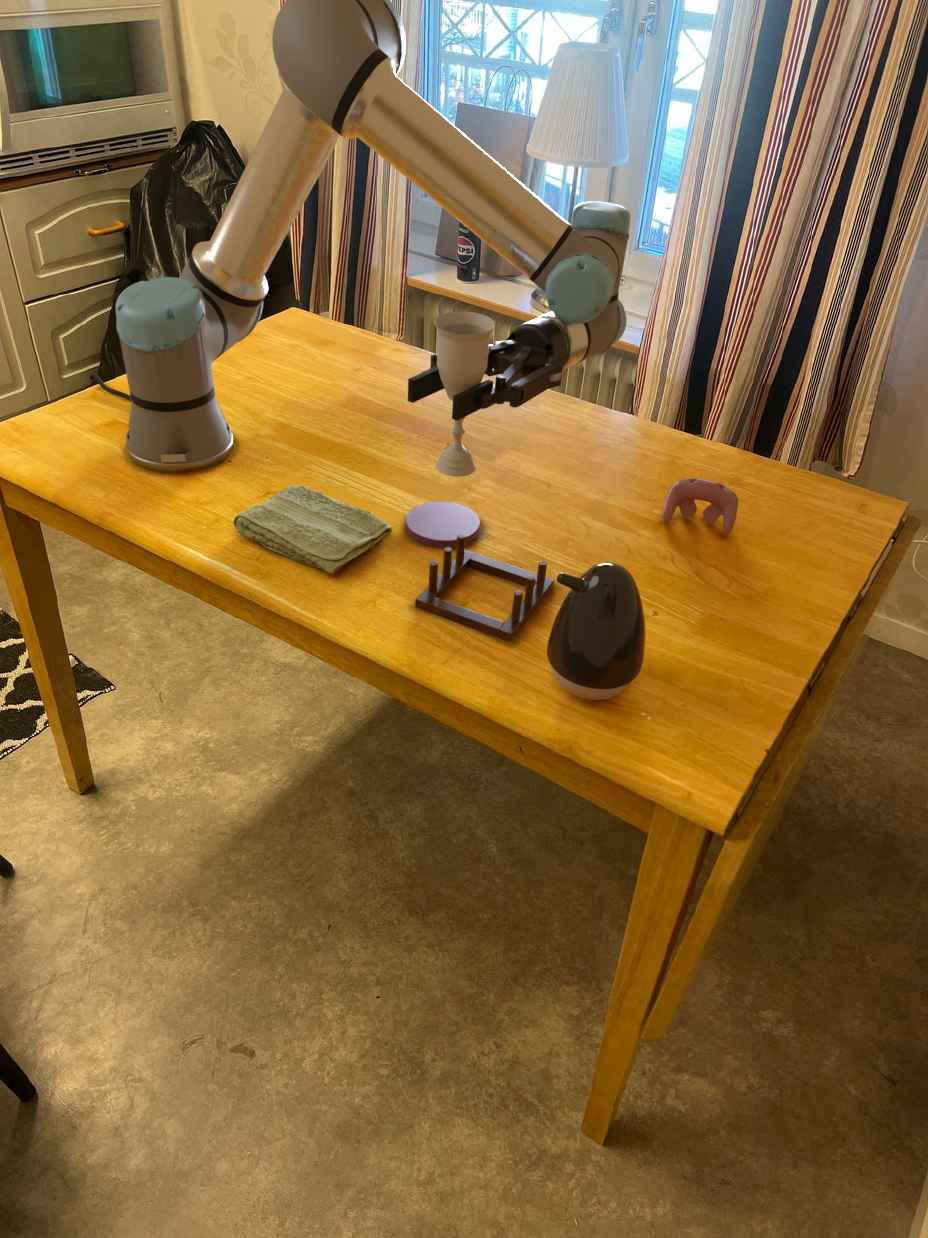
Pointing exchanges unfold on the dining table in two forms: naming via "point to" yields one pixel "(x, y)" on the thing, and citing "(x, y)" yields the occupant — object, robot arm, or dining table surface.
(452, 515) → the lid
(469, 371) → the chalice
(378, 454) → the dining table surface
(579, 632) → the pump dispenser
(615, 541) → the dining table surface
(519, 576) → the drying rack
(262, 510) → the washcloth
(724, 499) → the video game controller
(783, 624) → the dining table surface
